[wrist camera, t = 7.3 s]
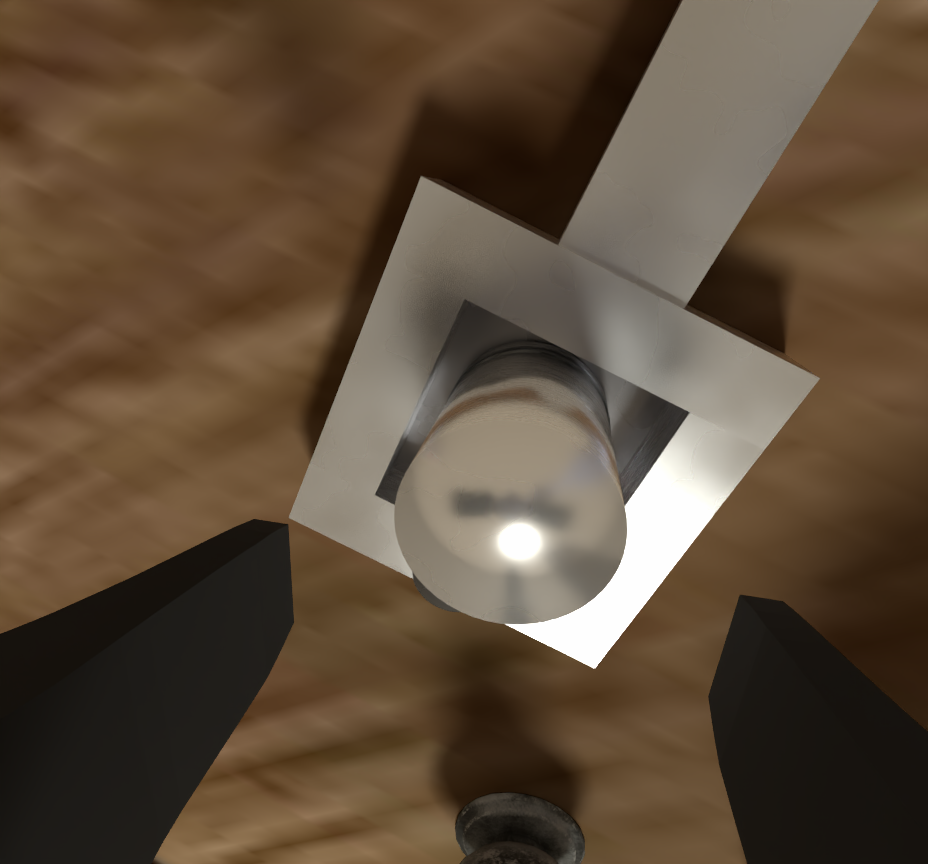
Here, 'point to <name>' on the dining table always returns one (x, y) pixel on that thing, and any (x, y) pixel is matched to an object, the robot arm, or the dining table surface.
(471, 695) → the dining table surface
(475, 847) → the grey figurine
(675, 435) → the grey piece
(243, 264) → the dining table surface
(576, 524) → the shiny metal cylinder
